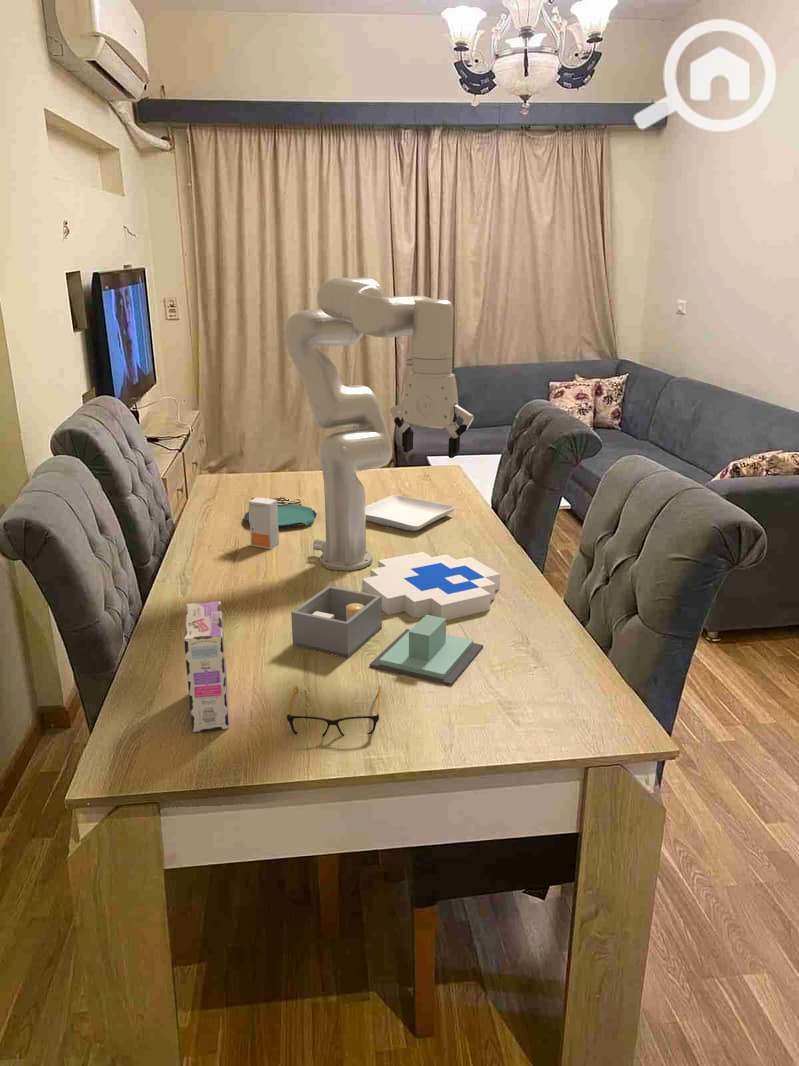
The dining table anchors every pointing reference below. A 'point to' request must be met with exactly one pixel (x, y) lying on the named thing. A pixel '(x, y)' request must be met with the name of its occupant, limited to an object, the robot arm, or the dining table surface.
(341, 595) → the storage box
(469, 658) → the mat
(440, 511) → the salad plate
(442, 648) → the lid
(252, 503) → the skincare box
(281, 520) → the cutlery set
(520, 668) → the dining table surface
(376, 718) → the eyeglasses
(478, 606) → the pixel art tile
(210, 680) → the candy box
